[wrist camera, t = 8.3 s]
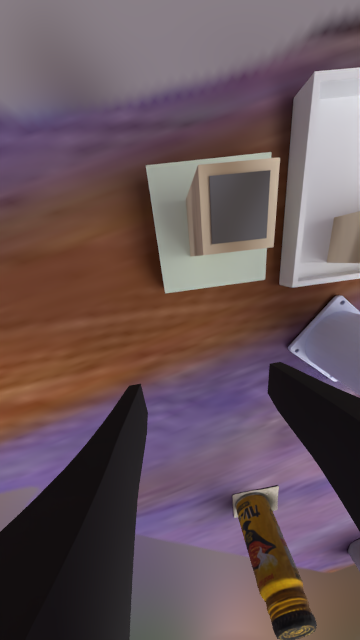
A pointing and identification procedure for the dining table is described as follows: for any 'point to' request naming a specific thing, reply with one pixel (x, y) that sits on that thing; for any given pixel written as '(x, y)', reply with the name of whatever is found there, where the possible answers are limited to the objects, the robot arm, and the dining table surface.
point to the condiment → (273, 564)
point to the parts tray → (321, 176)
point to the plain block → (345, 239)
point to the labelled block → (232, 206)
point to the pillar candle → (355, 552)
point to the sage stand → (173, 238)
